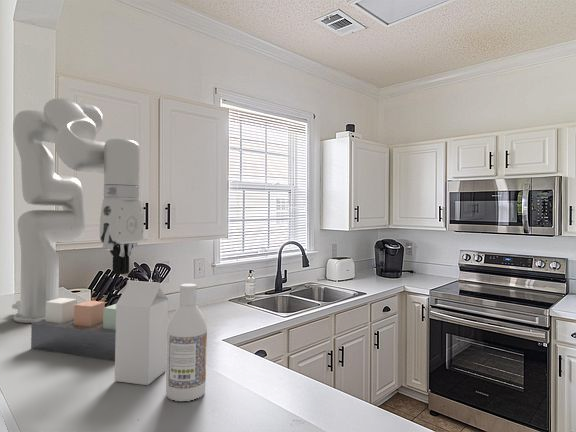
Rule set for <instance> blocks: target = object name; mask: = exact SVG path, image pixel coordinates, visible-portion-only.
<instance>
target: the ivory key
mask: <svg viewBox="0 0 576 432" xmlns="http://www.w3.org/2000/svg"><path fill="white" fill-rule="evenodd" d="M75 304H78V299H77V298H70V297H69V298H67V297H58V299H55V300H51V301H47V302H46V322H54V323H64V322H67V321H70V320H73V319H74V305H75Z"/></svg>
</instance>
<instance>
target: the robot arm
mask: <svg viewBox="0 0 576 432" xmlns="http://www.w3.org/2000/svg"><path fill="white" fill-rule="evenodd" d="M103 119H104V118H103V113H102V112H101V111H100V109H99V108H98V107H97V106H95V105H93V104H90V103H86V102H81V101H78V100H74V99H70V98H69V99H68V98H63V97H55V98H51V99H49V100H48V101H47V102H46V103H45V104H44V106H43V111H42V110H33V109H28V110H27V109H25V110H21V111H19V112H18V113H16V115H15V116H14V119H13V124H12V133H13V134H12V135H13V139H14V143H15V145H16V148H17V151H18V154H19V157H20V169H21V190H22V191H21V192H22V198H23V200H24V201H25V202H26V204H28V205H31V206H40V207H41V206H42V207H43V206H45V207H48V206H49V207H62V209H61V210H56V209H55V210H54V209H32V210H29V211H25V212H23V213H22V214H21V215H19V218H18V220H17V233H18V236H19V245H20V299H19V300H17V301H16V302H15V303H13V304H12V305H11V309H14V310H17V313H15V314H14V315H13V321H14V322H17V323H25V324H32V323H34V322H37V321H40V320H44V319H46V302H47V301H51V300H55V299H58V298H59V288H60V287H59V286H60V284H59V283H60V282H59V281H60V257H59V254H58V252H57V251H56V250H55V248H54V247H53V246H52V244H51V243H58V242H73V241H74V242H75V241H78V240H80V239H81V238H82V237H83V236H84V234H85V230H86V217H85V198H84V189H83V186H82V183H81V181H80V180H79V179H78V178H76V177H75V176H73V175H72V176H71V175H61V174H57V173H56V166H55V164H56V161H55V157H54V156H53V154H52V153H51V151H50V150H49V149H48V148H47V147H46V146H45V144H43V143H42V142H44V143H52V144H54V146H55V150H56V151H55V152H56V154H57V156H58V158H60V159H61V161H62V163H64V165H66V166H67V167H68V168H69V169H71V170H73V171H77V172H84V173H85V172H86V173H87V172H88V173H94V174H95V173H98V174H102V175H103V199H102V204H101V208H100V211H101V212H100V216H99V217H100V219H99V240H100V242H102V249H103V250H105V251H106V250H107V251H109V252H110V257H112V274H113V275H127V274H129V273H130V256H131V255H132V251H133V249H134V248H135V247H137V246H138V243H140V242H142V241H143V239H144V219H143V218H144V217H143V207H142V204H141V203H142V202H141V200H140V153H141V152H140V149H141V148H140V144H139V143H138V142H137V141H134V140H131V139H128V138H127V139H125V138H110V139H107V140H106V141H99V140H95V138H96V137H97V135H98V133H100V131H101V130H102V127H103V124H104V120H103Z"/></svg>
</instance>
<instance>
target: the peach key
mask: <svg viewBox="0 0 576 432" xmlns="http://www.w3.org/2000/svg"><path fill="white" fill-rule="evenodd" d="M105 304H106V303H105V301H96V300H86V301H85V300H84V301H82V302H80V303H79V302H78V303H77V304H75V305H74V325H79V326H87V327H92V326H94V325H97V324H100V323H102V322H103V312H104V308H105V307H106V306H105Z"/></svg>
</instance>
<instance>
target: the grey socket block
mask: <svg viewBox="0 0 576 432" xmlns="http://www.w3.org/2000/svg"><path fill="white" fill-rule="evenodd" d="M30 329H31V330H30V334H31V336H30V340H31V341H30V349H31V350H36V351H42V352H50V353H56V354H57V353H58V354H64V355H71V356H77V357H78V356H79V357H84V358H92V359H97V360H98V359H99V360H105V361H113V362H115V339H116V330H112V329H104V328H103V322H102V323H100V324H97V325H94V326H92V327H87V326H79V325H74V319H73V320H70V321H67V322H64V323H54V322H46V319H44V320H40V321H37V322H34V323H31V327H30Z"/></svg>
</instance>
